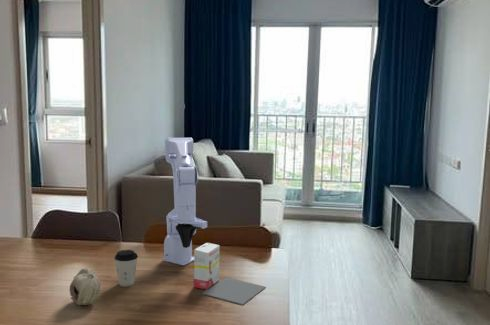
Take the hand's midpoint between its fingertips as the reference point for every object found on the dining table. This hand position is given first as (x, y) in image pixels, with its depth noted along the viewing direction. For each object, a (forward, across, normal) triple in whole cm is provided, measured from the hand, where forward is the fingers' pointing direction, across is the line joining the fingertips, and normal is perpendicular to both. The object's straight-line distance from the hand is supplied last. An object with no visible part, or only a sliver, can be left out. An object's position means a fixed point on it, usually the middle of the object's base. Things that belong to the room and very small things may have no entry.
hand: (186, 246), depth 145 cm
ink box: (+11, +8, 0) cm, 13 cm away
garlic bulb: (+11, -13, -29) cm, 34 cm away
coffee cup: (+11, -13, -13) cm, 21 cm away
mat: (+10, +18, 0) cm, 21 cm away
